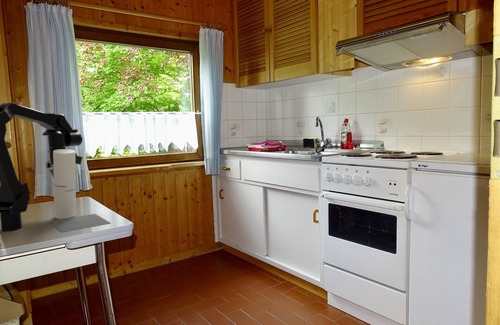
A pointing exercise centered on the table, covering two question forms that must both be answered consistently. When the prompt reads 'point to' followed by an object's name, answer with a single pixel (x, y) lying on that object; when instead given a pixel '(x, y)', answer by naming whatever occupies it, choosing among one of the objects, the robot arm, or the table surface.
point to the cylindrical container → (64, 183)
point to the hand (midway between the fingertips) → (60, 187)
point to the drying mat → (79, 222)
